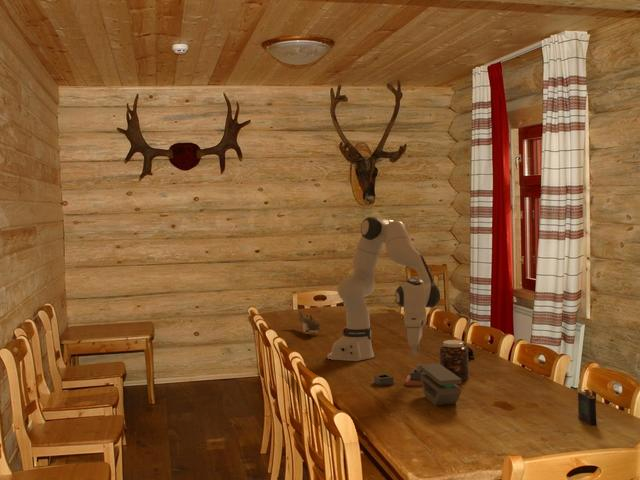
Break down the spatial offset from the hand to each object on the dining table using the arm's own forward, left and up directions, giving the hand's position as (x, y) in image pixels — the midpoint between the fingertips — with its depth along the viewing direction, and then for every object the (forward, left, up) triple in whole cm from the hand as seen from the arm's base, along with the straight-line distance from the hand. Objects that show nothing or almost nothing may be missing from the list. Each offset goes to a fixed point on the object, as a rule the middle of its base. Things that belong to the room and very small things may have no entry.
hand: (415, 352), depth 290 cm
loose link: (-13, -3, -12) cm, 18 cm away
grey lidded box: (+11, -25, -13) cm, 30 cm away
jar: (+15, +8, -13) cm, 21 cm away
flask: (+60, -45, -13) cm, 76 cm away
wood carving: (-70, +103, -13) cm, 125 cm away
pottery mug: (+18, +43, -13) cm, 48 cm away
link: (+1, 0, -11) cm, 11 cm away
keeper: (+1, 0, -12) cm, 12 cm away
